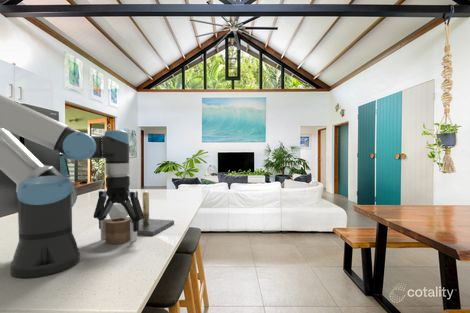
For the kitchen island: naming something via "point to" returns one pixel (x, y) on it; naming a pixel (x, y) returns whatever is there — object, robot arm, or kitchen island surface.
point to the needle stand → (151, 220)
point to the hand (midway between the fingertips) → (118, 239)
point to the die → (117, 211)
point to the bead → (117, 230)
